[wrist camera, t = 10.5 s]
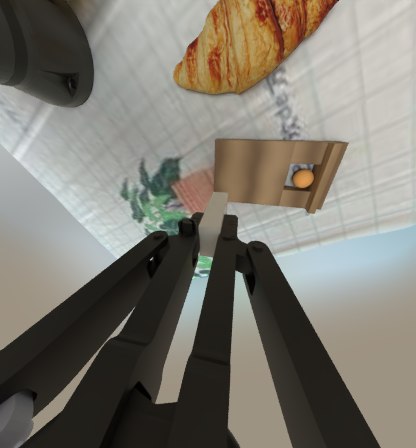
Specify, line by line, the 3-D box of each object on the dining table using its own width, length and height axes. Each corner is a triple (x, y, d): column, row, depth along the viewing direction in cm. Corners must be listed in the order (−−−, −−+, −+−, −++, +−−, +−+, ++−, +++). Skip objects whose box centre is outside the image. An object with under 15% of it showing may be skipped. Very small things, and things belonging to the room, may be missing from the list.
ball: (292, 189, 28) (312, 191, 27) (297, 170, 26) (319, 172, 25) (289, 184, 31) (307, 185, 30) (294, 166, 29) (313, 167, 28)
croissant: (191, 105, 30) (186, 128, 26) (157, 28, 22) (143, 43, 18) (322, 40, 23) (346, 57, 18) (341, -110, 15) (389, -141, 11)
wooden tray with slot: (215, 195, 35) (212, 204, 31) (217, 138, 29) (213, 140, 25) (315, 204, 31) (325, 214, 28) (340, 141, 26) (356, 144, 22)
